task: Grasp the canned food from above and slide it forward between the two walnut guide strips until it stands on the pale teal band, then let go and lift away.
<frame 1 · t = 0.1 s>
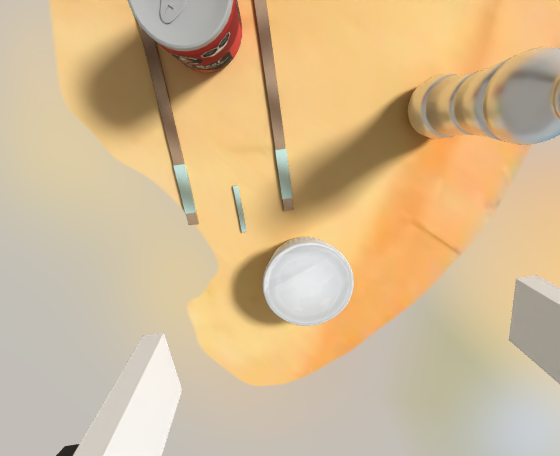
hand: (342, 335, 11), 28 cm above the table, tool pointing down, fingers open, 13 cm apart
guide strips: (221, 112, 35), on the table
ramekin: (303, 266, 42), on the table
canned food: (206, 33, 32), on the table
plastic bottle: (427, 109, 36), on the table
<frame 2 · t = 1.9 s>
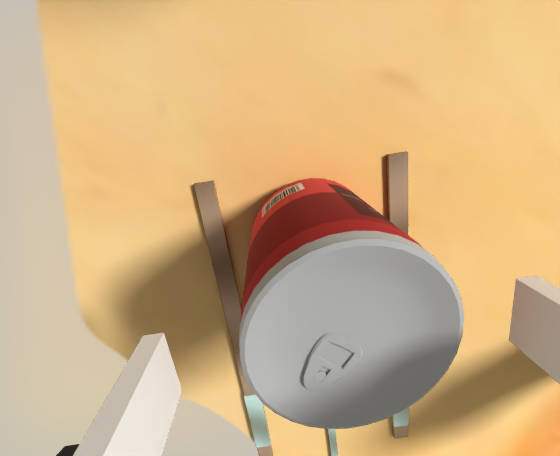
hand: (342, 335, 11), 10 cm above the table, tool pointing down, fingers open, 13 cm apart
guide strips: (319, 330, 23), on the table
canned food: (307, 232, 21), on the table
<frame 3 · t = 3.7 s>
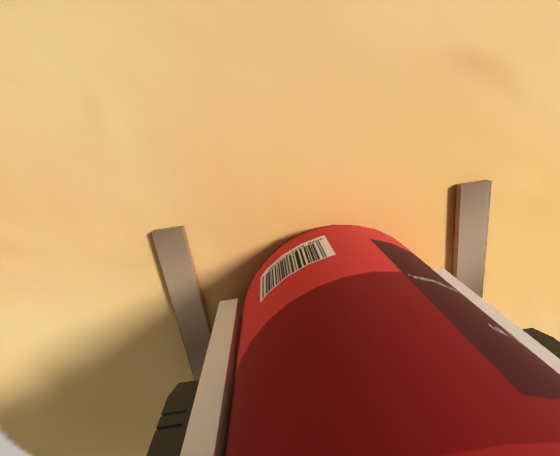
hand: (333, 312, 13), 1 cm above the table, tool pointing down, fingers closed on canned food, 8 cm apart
guide strips: (343, 432, 16), on the table
canned food: (329, 300, 14), on the table, touching gripper
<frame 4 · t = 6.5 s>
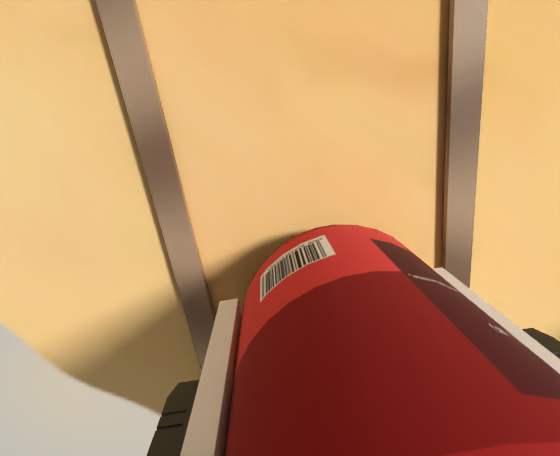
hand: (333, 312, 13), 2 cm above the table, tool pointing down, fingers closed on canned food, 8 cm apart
guide strips: (326, 282, 14), on the table
canned food: (329, 300, 14), point 1 cm above the table, touching gripper
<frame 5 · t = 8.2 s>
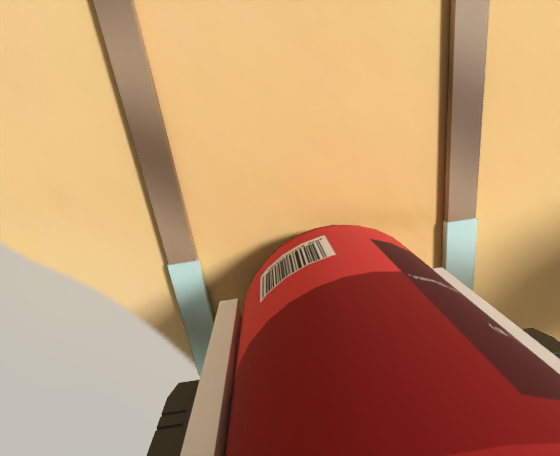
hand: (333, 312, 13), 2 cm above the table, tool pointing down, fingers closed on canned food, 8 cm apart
guide strips: (308, 119, 12), on the table
canned food: (329, 300, 14), point 1 cm above the table, touching gripper
when the fingers open (1 cm above the table, at t = 9.4 s): canned food stays where it is, on the table.
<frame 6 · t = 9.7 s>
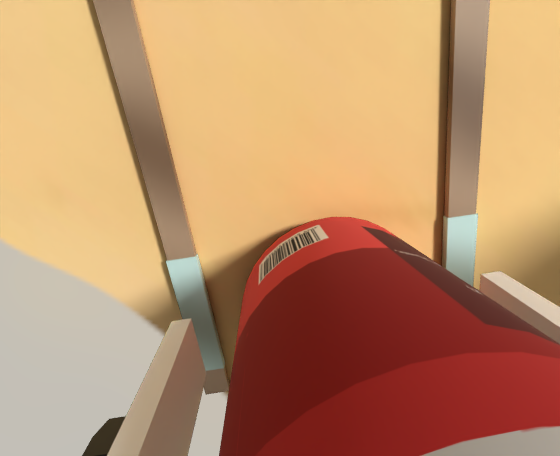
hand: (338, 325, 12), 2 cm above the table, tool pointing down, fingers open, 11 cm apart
guide strips: (307, 114, 12), on the table
canned food: (326, 293, 14), on the table
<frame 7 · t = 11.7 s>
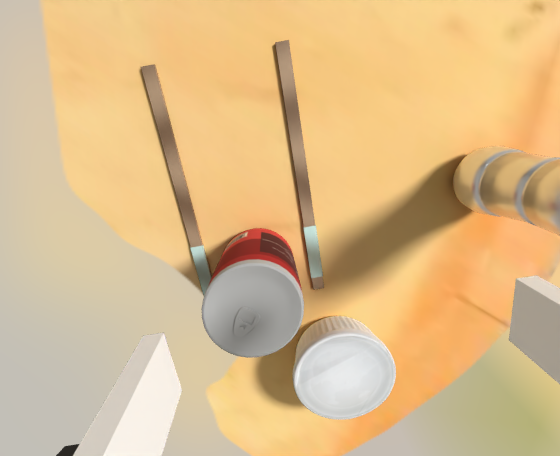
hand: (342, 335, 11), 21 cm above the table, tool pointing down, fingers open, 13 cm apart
guide strips: (243, 190, 31), on the table
ramekin: (334, 345, 37), on the table
canned food: (257, 260, 33), on the table, touching guide strips
plastic bottle: (473, 177, 32), on the table
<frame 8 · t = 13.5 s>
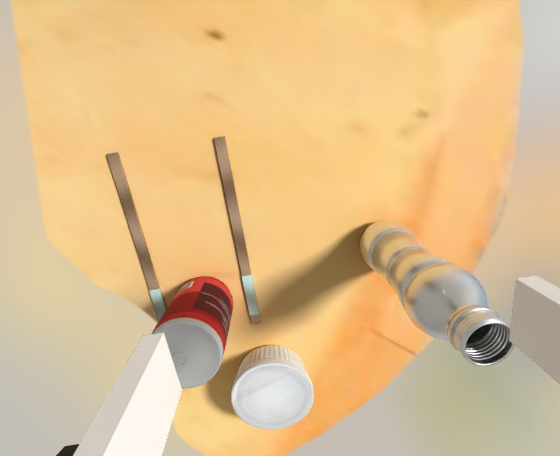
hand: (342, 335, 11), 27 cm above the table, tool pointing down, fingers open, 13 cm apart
guide strips: (192, 246, 38), on the table
ramekin: (271, 367, 45), on the table
canned food: (205, 300, 41), on the table, touching guide strips
plastic bottle: (379, 239, 39), on the table
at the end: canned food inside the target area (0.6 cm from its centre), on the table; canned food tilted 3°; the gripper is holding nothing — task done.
